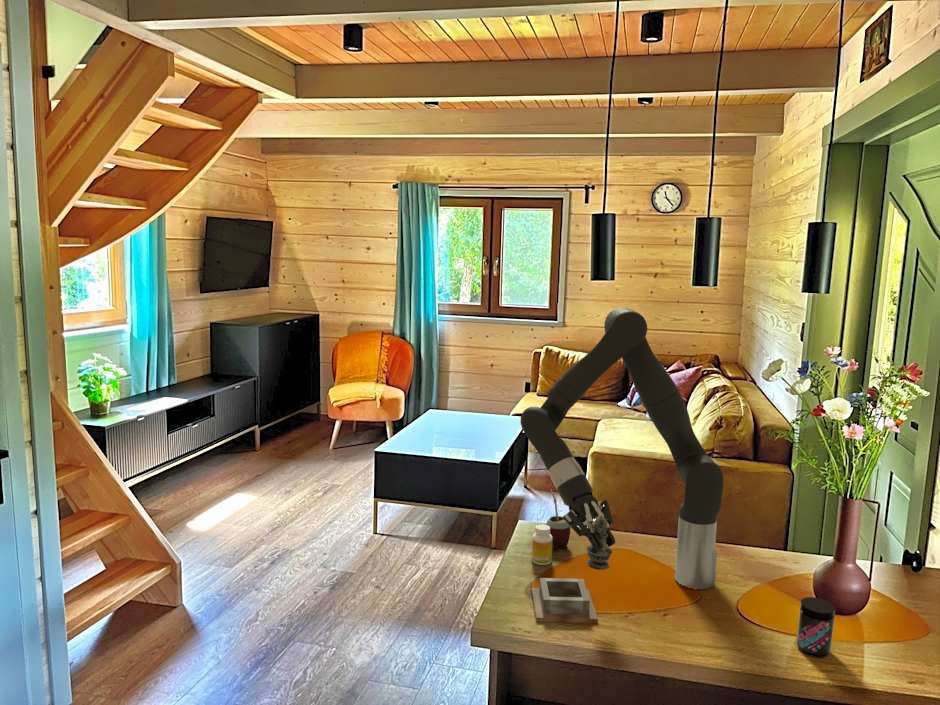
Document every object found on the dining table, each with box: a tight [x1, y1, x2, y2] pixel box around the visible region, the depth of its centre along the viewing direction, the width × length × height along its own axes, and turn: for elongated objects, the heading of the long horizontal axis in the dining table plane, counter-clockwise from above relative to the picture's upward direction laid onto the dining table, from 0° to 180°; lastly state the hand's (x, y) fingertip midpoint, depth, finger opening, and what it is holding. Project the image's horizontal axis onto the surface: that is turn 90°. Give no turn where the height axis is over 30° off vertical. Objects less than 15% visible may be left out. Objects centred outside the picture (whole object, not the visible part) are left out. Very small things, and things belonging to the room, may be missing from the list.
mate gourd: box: [545, 488, 571, 551], centre depth 205 cm, size 8×8×15 cm
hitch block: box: [531, 577, 599, 624], centre depth 172 cm, size 14×14×4 cm
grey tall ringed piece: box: [586, 515, 613, 571], centre depth 166 cm, size 6×6×12 cm
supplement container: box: [796, 596, 836, 658], centre depth 155 cm, size 7×7×10 cm
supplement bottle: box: [531, 523, 553, 566], centre depth 195 cm, size 5×5×10 cm
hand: (606, 546), depth 165 cm, fingers closed on grey tall ringed piece, 3 cm apart
